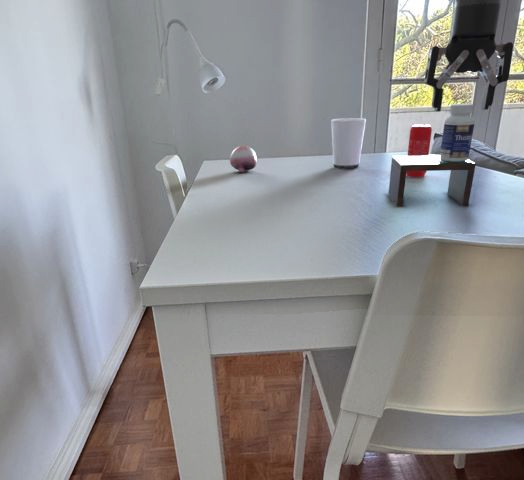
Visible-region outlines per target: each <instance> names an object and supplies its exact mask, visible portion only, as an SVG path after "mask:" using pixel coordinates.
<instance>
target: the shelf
mask: <svg viewBox="0 0 524 480" xmlns="http://www.w3.org/2000/svg"><path fill="white" fill-rule="evenodd" d="M476 165H477V163H476V162H474V161H472V160H470V159H468V160H466V161H461V162H448V161H442V160H440V154H429V155H421V156H407V155H392V156H391V164H390V174H389V185H388V196H389V197H390V199H391V200H392V202H393V203H394V205H395V206H396V207H397V208H399V207H401V208H403V206H404V198H405V191H406V188H405V187H406V181H407V174H406V172H407V171H426V172H431V171H434V172H435V171H436V172H437V171H450V174H449V179H448V186H447V191H446V192H447V195H448V196H450V197H451V198H452V199H453V200H455V201H456V202H457V203H458V204H459V205H461V206H462V207H468V206H469V204H470V198H471V193H472V187H473V182H474V176H475V170H476Z"/></svg>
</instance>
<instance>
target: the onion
mask: <svg viewBox="0 0 524 480" xmlns="http://www.w3.org/2000/svg"><path fill="white" fill-rule="evenodd" d="M229 163H230V166H231V167H232V168H233V169H235V170H237V171H236V173H243V172H248V171H251V170H253V169H254V168H256V166H257V164H258V158H257V154H256V152H255V150H254V149H253V148H251V147H250V146H247V145H241V144H239V145H238V147H235V149H233V151H232V152H231V154H230V156H229Z"/></svg>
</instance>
